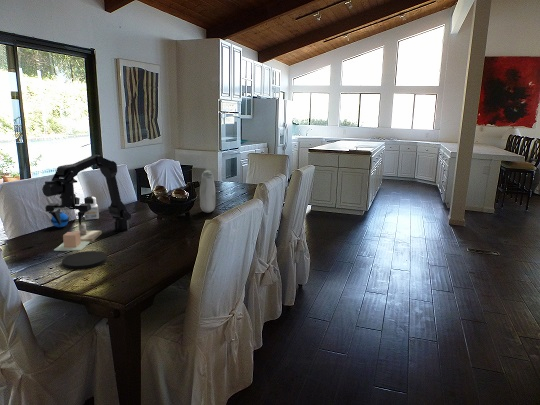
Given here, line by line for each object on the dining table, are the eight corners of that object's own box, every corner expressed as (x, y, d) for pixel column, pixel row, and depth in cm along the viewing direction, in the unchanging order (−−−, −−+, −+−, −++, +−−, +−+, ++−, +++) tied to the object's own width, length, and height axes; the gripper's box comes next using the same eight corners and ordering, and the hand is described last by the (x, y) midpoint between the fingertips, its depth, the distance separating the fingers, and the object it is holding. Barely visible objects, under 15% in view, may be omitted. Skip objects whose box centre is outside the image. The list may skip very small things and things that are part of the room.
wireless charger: (60, 272, 157) (60, 268, 157) (64, 257, 173) (63, 253, 173) (107, 267, 164) (107, 262, 164) (107, 253, 180) (106, 249, 180)
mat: (89, 242, 193) (89, 241, 193) (80, 250, 182) (80, 249, 182) (64, 242, 192) (64, 241, 192) (54, 250, 180) (53, 249, 180)
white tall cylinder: (214, 214, 253) (213, 171, 247) (198, 213, 253) (198, 171, 247) (216, 210, 263) (216, 169, 256) (201, 210, 263) (201, 169, 257)
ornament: (52, 225, 219) (51, 208, 217) (69, 224, 222) (68, 207, 220) (51, 229, 211) (49, 212, 209) (68, 228, 215) (67, 211, 213)
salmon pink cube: (76, 247, 184) (75, 235, 183) (64, 247, 184) (62, 235, 182) (80, 243, 190) (79, 231, 188) (68, 243, 189) (67, 231, 188)
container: (85, 219, 232) (83, 198, 229) (84, 216, 239) (82, 196, 236) (99, 218, 236) (97, 197, 233) (98, 215, 242) (96, 195, 240)
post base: (101, 233, 208) (100, 220, 206) (92, 241, 194) (91, 228, 193) (74, 233, 207) (73, 220, 205) (63, 241, 193) (62, 228, 191)
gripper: (93, 189, 190) (96, 220, 193) (54, 189, 188) (57, 220, 191) (85, 194, 179) (88, 226, 182) (43, 194, 177) (46, 226, 180)
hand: (70, 224), depth 184 cm, fingers open, 9 cm apart
